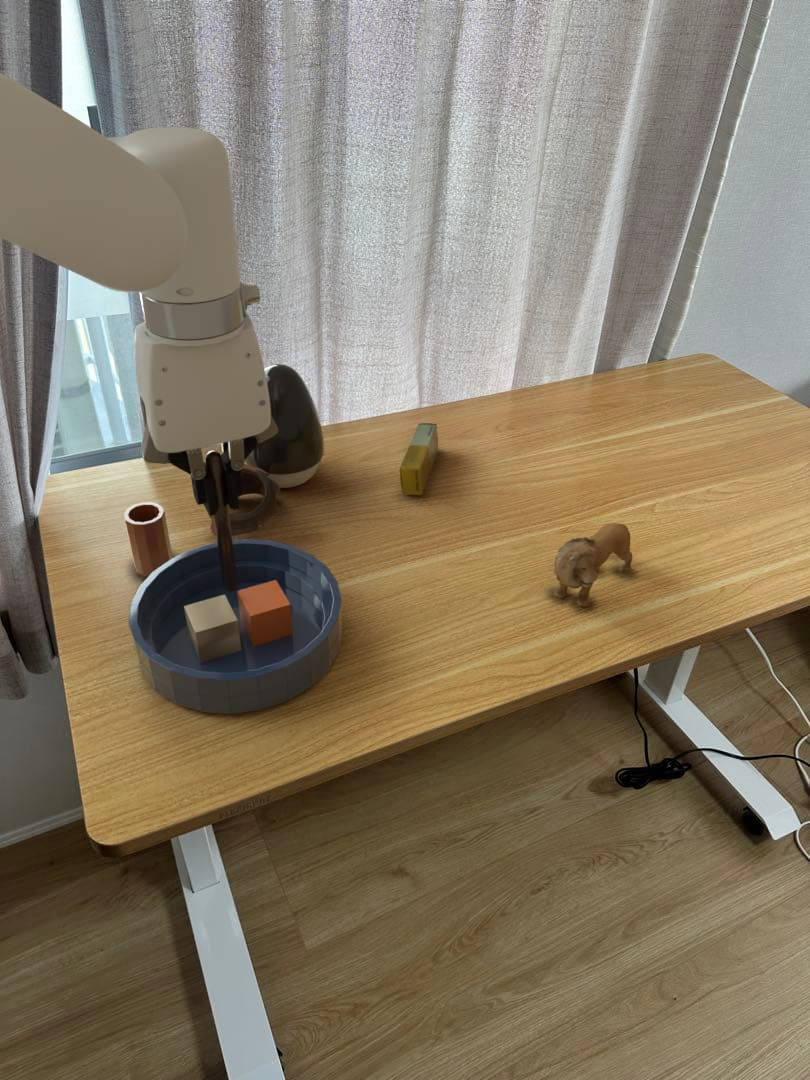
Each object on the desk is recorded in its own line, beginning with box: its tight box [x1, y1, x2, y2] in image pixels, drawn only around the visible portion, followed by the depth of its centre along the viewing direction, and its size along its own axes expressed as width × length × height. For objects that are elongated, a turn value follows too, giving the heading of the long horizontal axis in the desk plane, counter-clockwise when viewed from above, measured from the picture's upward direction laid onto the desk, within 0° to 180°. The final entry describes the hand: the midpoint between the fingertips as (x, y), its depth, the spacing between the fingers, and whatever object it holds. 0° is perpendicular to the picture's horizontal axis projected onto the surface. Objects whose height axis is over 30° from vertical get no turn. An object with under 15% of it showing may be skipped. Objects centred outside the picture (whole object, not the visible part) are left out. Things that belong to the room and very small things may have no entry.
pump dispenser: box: [245, 363, 325, 489], centre depth 98 cm, size 10×10×15 cm
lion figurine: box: [553, 522, 633, 608], centre depth 85 cm, size 15×5×9 cm, turn 144°
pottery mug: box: [204, 461, 281, 537], centre depth 94 cm, size 12×10×8 cm
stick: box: [204, 450, 238, 592], centre depth 75 cm, size 1×1×16 cm
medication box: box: [399, 422, 439, 496], centre depth 103 cm, size 12×3×4 cm, turn 168°
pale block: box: [184, 595, 241, 663], centre depth 77 cm, size 4×4×4 cm
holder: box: [122, 501, 174, 578], centre depth 86 cm, size 4×4×7 cm
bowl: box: [128, 538, 343, 715], centre depth 78 cm, size 20×20×5 cm
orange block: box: [237, 580, 292, 646], centre depth 79 cm, size 4×4×4 cm
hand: (219, 503), depth 73 cm, fingers closed on stick, 1 cm apart
